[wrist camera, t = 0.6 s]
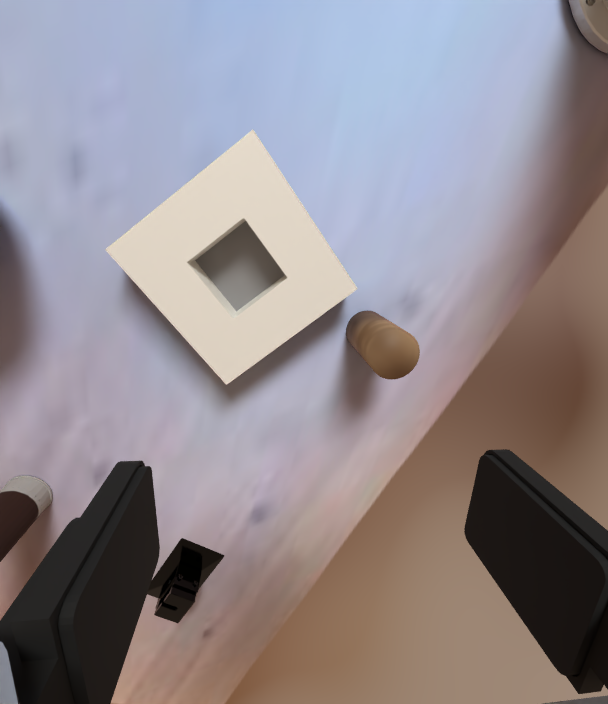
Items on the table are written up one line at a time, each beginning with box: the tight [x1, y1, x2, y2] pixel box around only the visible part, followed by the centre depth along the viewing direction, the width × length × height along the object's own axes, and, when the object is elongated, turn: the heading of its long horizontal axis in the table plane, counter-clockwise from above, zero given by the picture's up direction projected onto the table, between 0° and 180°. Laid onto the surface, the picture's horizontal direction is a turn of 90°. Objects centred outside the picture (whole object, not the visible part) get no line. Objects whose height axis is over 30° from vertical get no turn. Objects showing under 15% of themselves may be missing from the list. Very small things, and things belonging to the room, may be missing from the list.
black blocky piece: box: [147, 538, 224, 623], centre depth 39 cm, size 12×7×5 cm, turn 145°
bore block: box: [105, 130, 357, 385], centre depth 29 cm, size 14×14×4 cm
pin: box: [346, 311, 420, 379], centre depth 30 cm, size 4×4×8 cm
